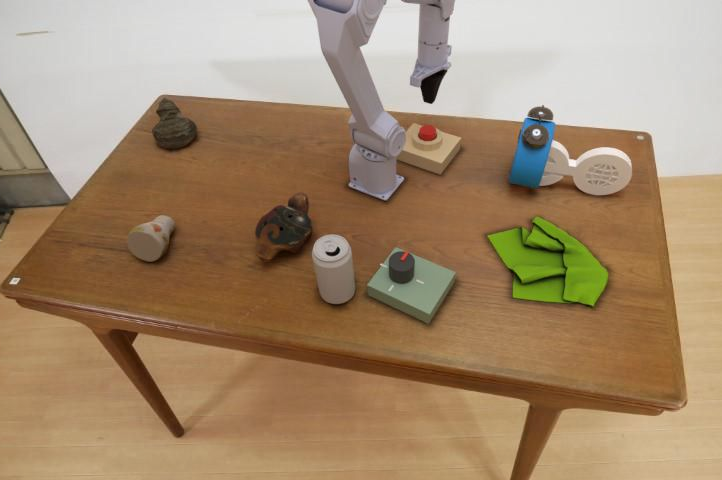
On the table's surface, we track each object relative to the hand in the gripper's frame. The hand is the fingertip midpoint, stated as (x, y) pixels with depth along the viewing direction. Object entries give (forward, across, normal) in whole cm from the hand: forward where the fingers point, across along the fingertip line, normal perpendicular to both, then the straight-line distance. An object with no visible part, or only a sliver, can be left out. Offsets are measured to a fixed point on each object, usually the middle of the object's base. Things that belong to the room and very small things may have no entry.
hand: (429, 101), depth 103 cm
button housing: (+10, -4, -2) cm, 11 cm away
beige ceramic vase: (+11, -54, +31) cm, 63 cm away
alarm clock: (+10, -2, -24) cm, 26 cm away
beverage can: (+11, -46, -6) cm, 48 cm away
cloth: (+11, -21, -35) cm, 42 cm away
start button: (+6, -4, -2) cm, 7 cm away
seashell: (+11, -29, +52) cm, 60 cm away
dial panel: (+10, -39, -17) cm, 44 cm away
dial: (+7, -39, -15) cm, 42 cm away
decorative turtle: (+11, -41, +9) cm, 43 cm away
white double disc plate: (+11, 0, -32) cm, 34 cm away
